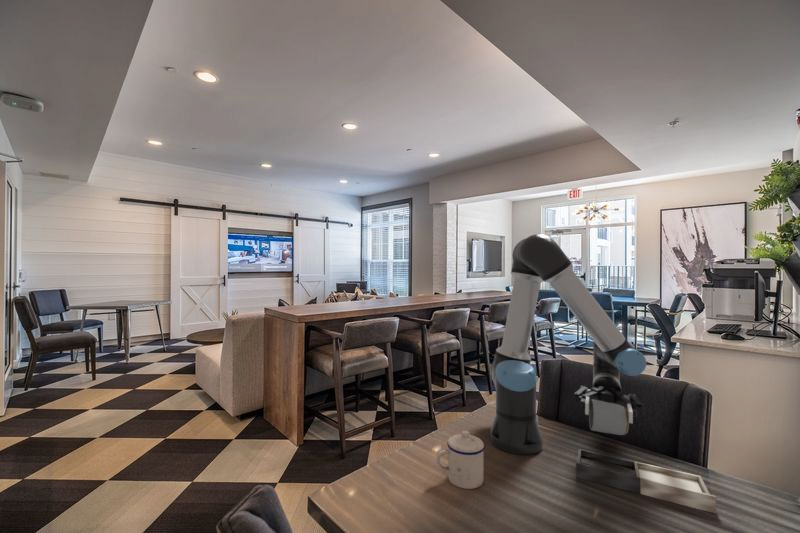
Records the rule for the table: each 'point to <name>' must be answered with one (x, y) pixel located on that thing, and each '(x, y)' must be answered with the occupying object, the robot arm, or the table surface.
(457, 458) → the teacup with lid
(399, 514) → the table surface
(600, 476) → the box
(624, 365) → the robot arm
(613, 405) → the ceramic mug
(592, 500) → the table surface
